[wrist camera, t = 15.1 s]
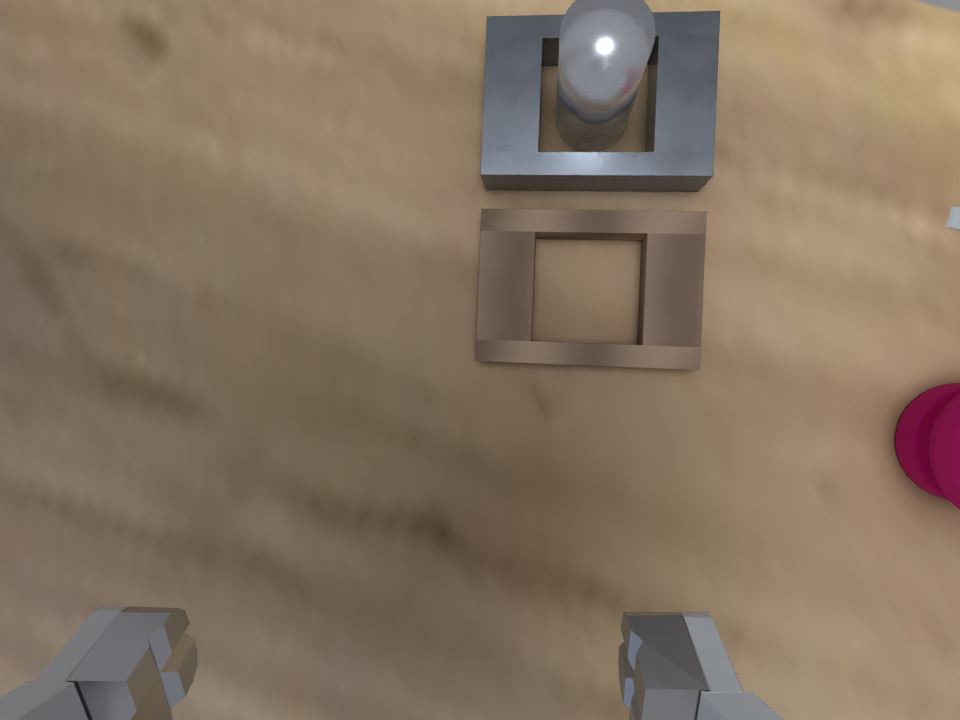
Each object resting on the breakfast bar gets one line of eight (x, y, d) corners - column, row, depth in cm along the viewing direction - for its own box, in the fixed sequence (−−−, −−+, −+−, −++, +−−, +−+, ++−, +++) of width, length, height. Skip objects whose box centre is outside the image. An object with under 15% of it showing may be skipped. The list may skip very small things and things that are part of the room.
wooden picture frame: (479, 360, 35) (475, 360, 33) (485, 217, 35) (481, 209, 33) (690, 369, 34) (699, 369, 32) (697, 220, 33) (706, 211, 32)
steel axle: (554, 152, 34) (557, 82, 25) (557, 82, 34) (561, -13, 25) (625, 152, 34) (653, 81, 25) (628, 82, 34) (657, -15, 25)
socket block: (486, 190, 35) (480, 174, 32) (491, 45, 35) (486, 16, 32) (698, 191, 33) (712, 175, 30) (704, 41, 33) (720, 10, 30)
